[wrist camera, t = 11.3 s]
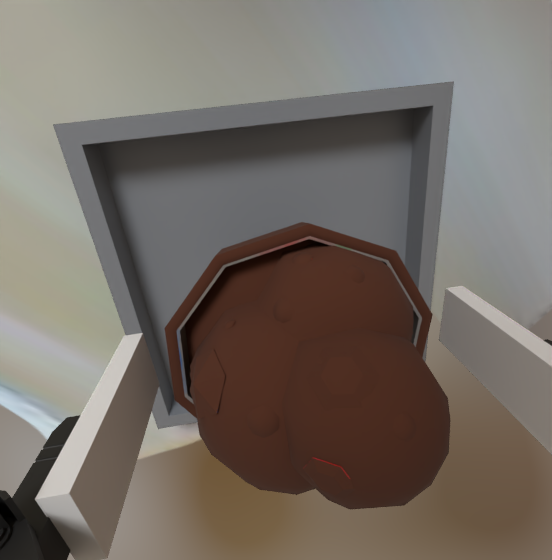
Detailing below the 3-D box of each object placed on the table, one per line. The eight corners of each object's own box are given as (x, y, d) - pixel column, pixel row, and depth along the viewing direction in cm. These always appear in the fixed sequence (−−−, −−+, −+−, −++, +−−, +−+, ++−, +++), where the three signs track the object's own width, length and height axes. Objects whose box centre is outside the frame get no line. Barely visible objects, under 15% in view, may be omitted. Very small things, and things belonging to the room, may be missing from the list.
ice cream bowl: (294, 150, 19) (449, 179, 5) (380, 286, 23) (586, 493, 10) (156, 255, 21) (5, 487, 7) (261, 365, 25) (295, 641, 11)
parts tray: (78, 126, 18) (52, 124, 16) (424, 89, 19) (453, 81, 17) (165, 400, 26) (158, 428, 24) (405, 361, 27) (423, 384, 25)
